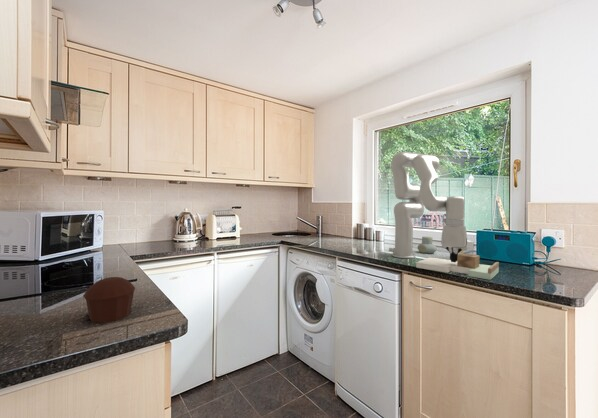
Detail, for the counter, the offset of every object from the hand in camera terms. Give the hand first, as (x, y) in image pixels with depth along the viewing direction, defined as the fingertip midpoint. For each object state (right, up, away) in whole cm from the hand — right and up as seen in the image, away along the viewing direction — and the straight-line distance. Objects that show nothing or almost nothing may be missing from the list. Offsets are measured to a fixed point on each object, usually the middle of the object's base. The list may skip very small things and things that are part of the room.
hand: (453, 261), depth 131 cm
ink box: (+14, -4, +17) cm, 22 cm away
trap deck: (+1, -4, -1) cm, 4 cm away
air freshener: (+7, -3, +44) cm, 44 cm away
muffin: (-123, -4, -57) cm, 136 cm away
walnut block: (+4, -1, -4) cm, 6 cm away
